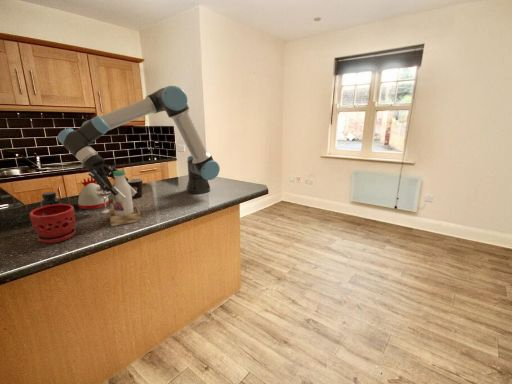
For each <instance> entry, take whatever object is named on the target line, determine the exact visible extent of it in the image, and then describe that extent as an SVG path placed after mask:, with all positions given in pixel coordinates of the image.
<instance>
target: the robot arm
mask: <svg viewBox="0 0 512 384" xmlns="http://www.w3.org/2000/svg"><path fill="white" fill-rule="evenodd" d="M189 111H190V108H189V105H188V96H187V93H186V92H185V90H183V89H182V88H181V87H179V86H176V85H168V86H165V87H161V88H160V89H158V90H156V91H154V92H152V93H150V94H148V95H146V96H145V97H144V98H143V99H141V100H139V101H136V102H133V103H130V104H128V105H126V106H125V105H124V106H123V107H120V108H118V109H115V110H112V111H110V112H107V113H105V114H102V115H97V116H94V117H93V118H91V119H87V120H85V121H83V122H82V124H81V126H80V127H78V128H77V129H73V128H71V127H70V128H66V129H63V130H61V131H60V132H59V133H58V135H57V140H58V142H59V143H61V145H62V146H63V148H65V149H66V150H67V151H68V152H70V153H71V155H72V156H74V157H75V158H76V159H77V160H78V161H79V162H80V163H81V164H82V165H83V166H84V167H85V168H86V169H87V170H88V171H89V173H88V175H89V177H90V178H91V177H92V179H93V181H94V180H95V181H96V183H97V184H98V185H99V186H100V187H101V188H102V189H103V190H104V191H106V190H107V192H109V191H110V192H111V195H112V194H113V195H115V196H116V197H117V198H118V199H119V200H120V201H121V202H122V201H123V200H124V199H125V198H126V197H125V196H124V195H123V194H122V193H121V192H120V191H119V190H118V189H117V188H116V187H113V184H112V183H111V181H110V179H109V178H111V179H113V180H114V175H113V172H114V171H119V169H117V168H116V167H115V166H114V165H113V164H112V165H110V166H109V165H108V164H106V163H105V159H104V158H103V157H102V156H101V155H100V154H98V152H97V151H96V150H95V149H94V148H93V147H92V146H91V145H90V144H93V142H95V141H97V139H99V138H100V137H103V135H105V134H106V133H107V132H108V131H111V130H113V129H115V128H117V127H120V126H123V125H125V124H128V123H130V122H133V121H135V120H138V119H140V118H143V117H145V116H148V115H150V114H153V115H154V114H158V113H162V112H166V115H167V116H168V118H169V119H172V120H173V122H174V125H176V127H177V130H178V131H179V133H180V135H181V137H182V139H183V141H184V143H185V146H186V147H187V149H188V151H189V153H190V154H191V155H189V156H188V157H187V160H186V163H187V173H188V174H187V175H188V181H187V185H186V192H187V193H189V194H196V195H197V194H205V193H209V192H210V191H211V185H210V183H209V181H212V180H215V178H217V177H218V176H219V173H220V169H221V168H220V164H219V163H218V162H217V161H216V160H214V158H213V156H212V154H211V153H210V152H208V151H207V149H206V147H205V146H204V143H203V141H202V139H201V137H200V135H199V133H198V130H197V129H196V127H195V125H194V122H193V120H192V118H191V116H190V113H189ZM125 179H126V181H128V180H130V179H129V178H128V177H127V176H125ZM104 186H105V187H104ZM129 186H130V185H129ZM130 189H131V194H132V196H134V195H135V194H136V193H137V192H136V191H135V190H134V189H133V188H132V187H131V186H130Z"/></svg>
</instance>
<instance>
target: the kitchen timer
mask: <svg viewBox="0 0 512 384" xmlns="http://www.w3.org/2000/svg"><path fill="white" fill-rule="evenodd" d="M80 183H81V184H82V185H83V187H82V188H81V190H80V192H79V193H78V194H79V195H78V200H77V201H78V202H77V203H78V208H80V209H84V210H86V209H87V210H90V209H97V208H101V207H105V204H104V199H102V198H99V197H98V196H96V194H95V191H96V190H95V188H97V187H100V186H99V185H98V184H97V182H96V181H95V180H94V179H93V178H92V177H91V176H90V177H87V180H86V179H85V178H83V181H82V180H80ZM105 200H106V206H107V205H109V204H110V199H109V197H107V198H106V199H105Z"/></svg>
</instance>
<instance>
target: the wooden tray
mask: <svg viewBox="0 0 512 384" xmlns="http://www.w3.org/2000/svg"><path fill="white" fill-rule="evenodd" d="M133 211H134V212H133V214H131V215H126V216H120V217H119V216H116V215H115V212H114V208H113V209H109V212H108V214H109V222H110V226H111V227H115V226H119V225H121V226H122V225H126V224H130V223H137V222H142V217H141V215H142V214H141V211H140V210H139V208H138V205H135V206H134V205H133Z"/></svg>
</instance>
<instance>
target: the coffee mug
mask: <svg viewBox="0 0 512 384" xmlns="http://www.w3.org/2000/svg"><path fill="white" fill-rule="evenodd" d="M127 183H128V184H129V185H130V186H131V187H132V188H133V189H134V190H135V191H136V192H137V193H136V194H135V195H134V196H132V200H133V199H134V200H135V199H141V198H142V197H143V178H142V179H141V178H131V179H129V180H128V181H127Z"/></svg>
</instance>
